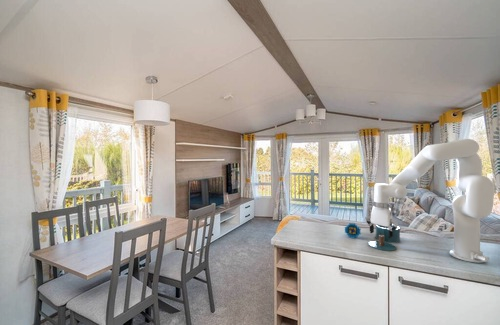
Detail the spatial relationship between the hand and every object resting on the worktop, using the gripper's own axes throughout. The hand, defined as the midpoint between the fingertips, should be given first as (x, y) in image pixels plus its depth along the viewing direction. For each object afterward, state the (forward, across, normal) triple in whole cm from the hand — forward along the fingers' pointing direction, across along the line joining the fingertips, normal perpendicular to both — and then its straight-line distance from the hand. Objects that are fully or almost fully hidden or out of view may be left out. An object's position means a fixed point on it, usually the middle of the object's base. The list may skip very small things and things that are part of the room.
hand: (380, 235), depth 124 cm
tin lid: (+6, 0, 0) cm, 6 cm away
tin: (+7, +2, -16) cm, 17 cm away
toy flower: (+7, +20, -6) cm, 23 cm away
